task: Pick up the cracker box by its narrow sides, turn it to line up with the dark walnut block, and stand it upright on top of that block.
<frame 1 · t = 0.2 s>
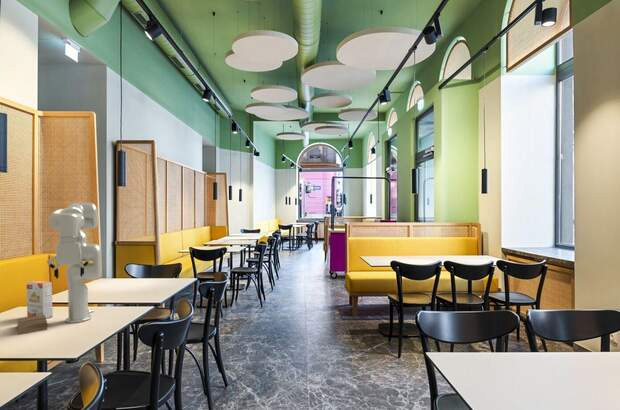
hand: (69, 277, 180), 31 cm above the table, tool pointing down, fingers open, 9 cm apart
cracker box: (39, 318, 226), on the table
walnut block: (32, 327, 206), on the table
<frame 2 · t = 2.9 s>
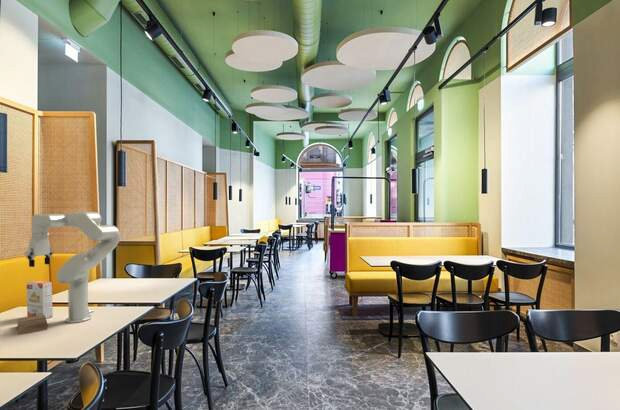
hand: (39, 265, 224), 31 cm above the table, tool pointing down, fingers open, 9 cm apart
nothing on the table moved.
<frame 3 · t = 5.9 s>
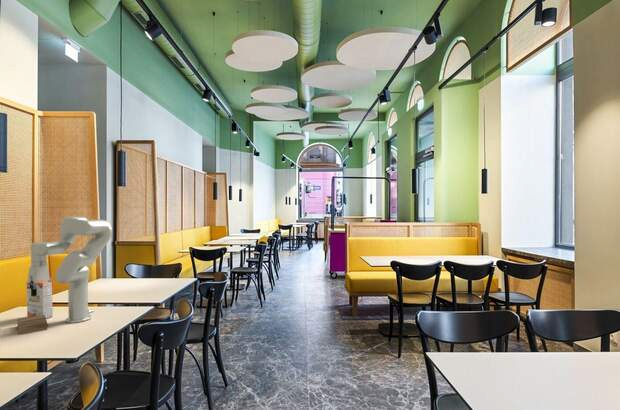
hand: (39, 294, 226), 14 cm above the table, tool pointing down, fingers closed on cracker box, 6 cm apart
cracker box: (39, 317, 226), on the table, touching gripper
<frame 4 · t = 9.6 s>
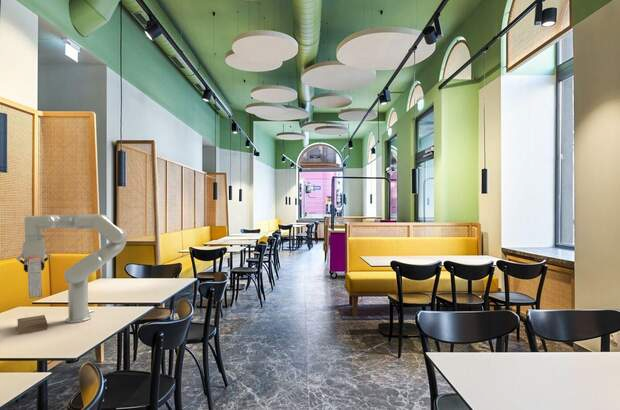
hand: (34, 270, 213), 29 cm above the table, tool pointing down, fingers closed on cracker box, 6 cm apart
cracker box: (34, 295, 213), point 16 cm above the table, touching gripper
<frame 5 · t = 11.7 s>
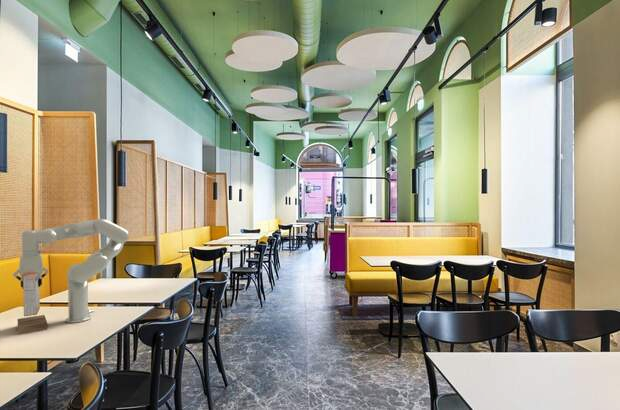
hand: (31, 287, 206), 22 cm above the table, tool pointing down, fingers closed on cracker box, 6 cm apart
cracker box: (31, 313, 206), point 8 cm above the table, touching gripper
when the fingers open (19 cm above the table, at t = 13.5 s): cracker box drops 1 cm, resting on walnut block.
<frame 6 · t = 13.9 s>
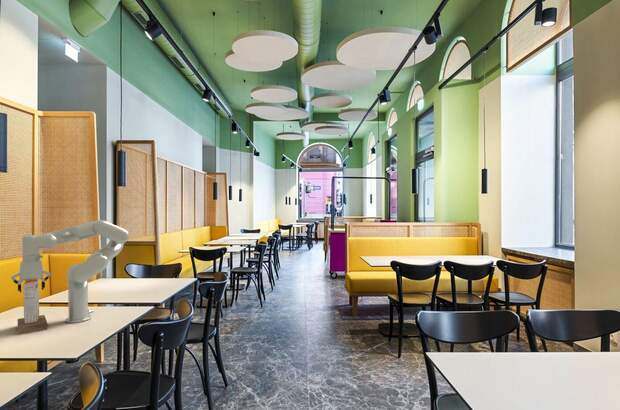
hand: (31, 290, 206), 20 cm above the table, tool pointing down, fingers open, 9 cm apart
cracker box: (31, 320, 206), point 4 cm above the table, touching walnut block
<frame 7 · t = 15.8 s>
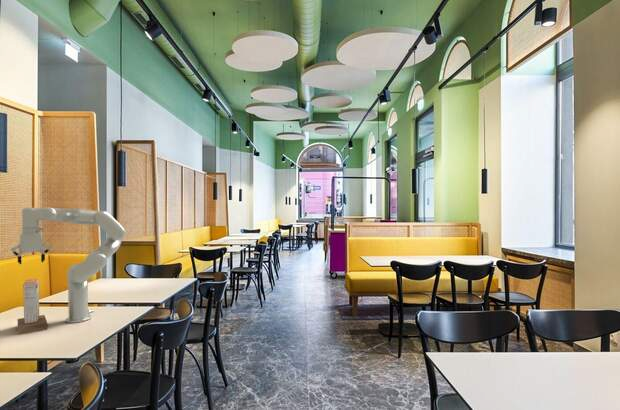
hand: (31, 262, 207), 34 cm above the table, tool pointing down, fingers open, 9 cm apart
nothing on the table moved.
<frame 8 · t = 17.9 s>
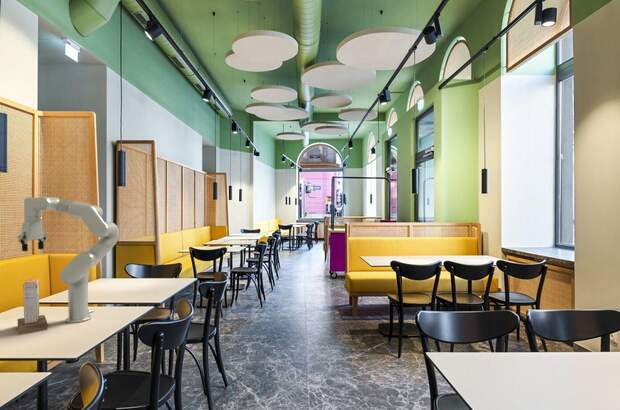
hand: (33, 250, 217), 40 cm above the table, tool pointing down, fingers open, 9 cm apart
nothing on the table moved.
at the end: cracker box inside the target area on the walnut block (0.1 cm from its centre), point 3.8 cm above the walnut block's base; cracker box tilted 0°; cracker box touching walnut block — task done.
